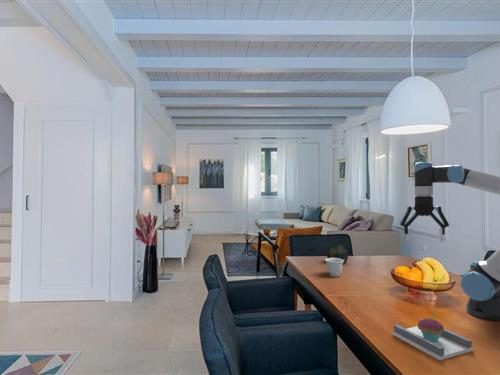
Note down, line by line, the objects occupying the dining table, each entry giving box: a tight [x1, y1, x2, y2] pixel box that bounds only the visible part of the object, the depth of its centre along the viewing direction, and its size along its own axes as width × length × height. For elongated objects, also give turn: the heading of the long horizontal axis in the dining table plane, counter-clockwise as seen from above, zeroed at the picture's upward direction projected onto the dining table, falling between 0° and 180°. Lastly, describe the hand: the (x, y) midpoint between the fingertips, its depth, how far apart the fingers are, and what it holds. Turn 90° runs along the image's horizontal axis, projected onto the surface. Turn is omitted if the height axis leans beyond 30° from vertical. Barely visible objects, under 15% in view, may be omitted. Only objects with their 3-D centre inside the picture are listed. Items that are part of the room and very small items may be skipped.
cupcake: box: [417, 307, 445, 342], centre depth 121 cm, size 9×8×12 cm
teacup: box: [324, 257, 344, 278], centre depth 212 cm, size 12×15×10 cm
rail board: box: [392, 318, 473, 361], centre depth 121 cm, size 20×16×4 cm
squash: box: [326, 244, 349, 265], centre depth 242 cm, size 14×15×15 cm
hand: (424, 241), depth 152 cm, fingers open, 13 cm apart
